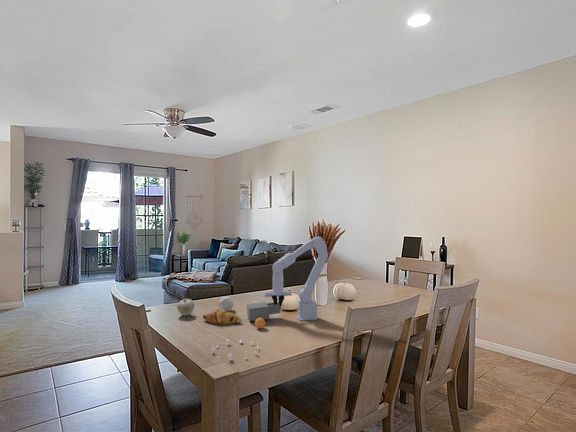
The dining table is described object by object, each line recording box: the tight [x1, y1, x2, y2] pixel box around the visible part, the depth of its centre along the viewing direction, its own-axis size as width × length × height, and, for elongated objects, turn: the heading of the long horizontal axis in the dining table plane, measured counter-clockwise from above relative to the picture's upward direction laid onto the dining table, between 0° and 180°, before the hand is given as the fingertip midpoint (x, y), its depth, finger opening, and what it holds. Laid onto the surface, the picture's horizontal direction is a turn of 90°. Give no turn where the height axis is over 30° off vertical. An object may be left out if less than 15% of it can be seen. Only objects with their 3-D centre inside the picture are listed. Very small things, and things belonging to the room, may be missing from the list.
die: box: [217, 296, 235, 312], centre depth 199 cm, size 8×9×10 cm
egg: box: [254, 318, 266, 329], centre depth 168 cm, size 5×5×5 cm
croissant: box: [202, 308, 243, 325], centre depth 178 cm, size 21×10×8 cm, turn 79°
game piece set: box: [210, 337, 260, 362], centre depth 140 cm, size 19×20×4 cm
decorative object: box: [177, 297, 195, 317], centre depth 189 cm, size 9×9×10 cm
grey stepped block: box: [246, 301, 281, 322], centre depth 183 cm, size 16×10×6 cm, turn 104°
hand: (277, 309), depth 185 cm, fingers closed on grey stepped block
